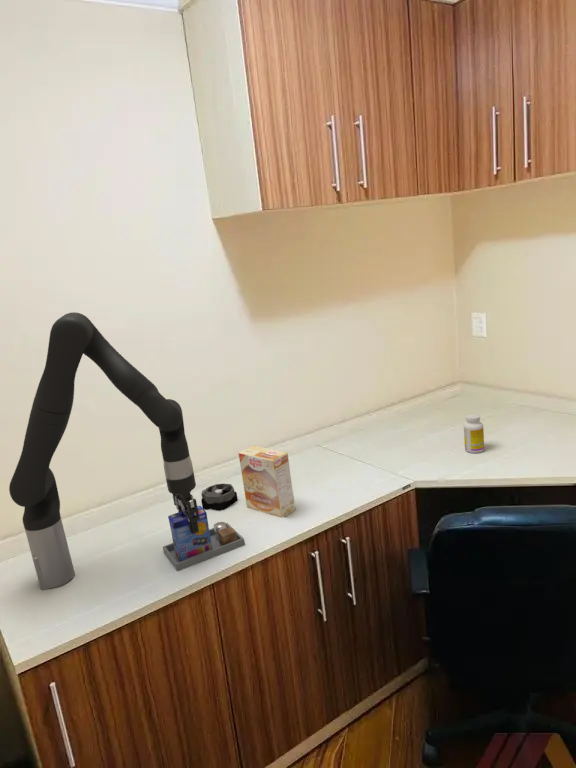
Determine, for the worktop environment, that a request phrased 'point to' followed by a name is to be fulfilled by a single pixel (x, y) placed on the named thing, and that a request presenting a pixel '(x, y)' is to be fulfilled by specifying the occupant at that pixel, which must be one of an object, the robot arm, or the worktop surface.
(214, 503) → the cpu cooler
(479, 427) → the supplement bottle
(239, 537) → the parts tray
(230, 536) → the walnut block part
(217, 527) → the metal ball part
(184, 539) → the ink cartridge box
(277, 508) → the coffeecake box
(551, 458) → the worktop surface
